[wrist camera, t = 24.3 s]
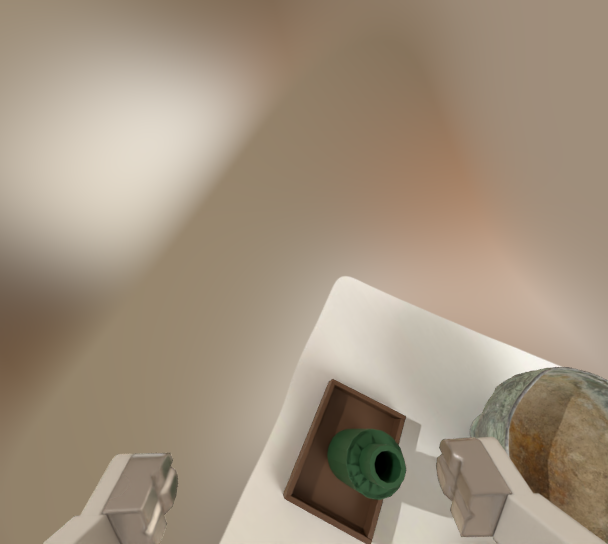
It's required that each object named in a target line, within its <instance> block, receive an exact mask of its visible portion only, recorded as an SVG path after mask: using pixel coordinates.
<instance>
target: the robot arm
mask: <svg viewBox="0 0 608 544" xmlns="http://www.w3.org/2000/svg"><path fill="white" fill-rule="evenodd" d="M439 448H440V450H441V452H442V454H441V455H440V456H439V457H438V458H437V463H436V469H437V476H438V480H439V483H440V486H441V488H442V491H443V493H444V494H445V495H446V496H447V497H448V498H449V499H450V500H451V501H452V505H451V509H450V511H451V513H452V515H453V518H454V520H455V522H456V525H457V527H458V530H459V532H460V534H461V537H485V536H493V539H494V540H495V541H496V542H497V543H498V544H607V543H605V542H604V541H603V540H601V539H600V538H599V537H597V536H596V535H595V534H593V533H592V532H590V531H589V530H588V529H586V528H585V527H584V526H582V525H581V524H580V523H578V522H577V521H576V520H574V519H573V518H572V517H570V516H569V515H567V514H566V513H565V512H563V511H562V510H561V509H559V508H558V507H557V506H555V505H554V504H553V503H551V502H550V501H549V500H547V499H546V498H544V497H543V496H542V495H540V494H539V493H533V492H532V490H531V489H530V488H529V486H528V485H527V483H526V482H525V480H524V479H523V477H522V476H521V474H520V473H519V471H518V470H517V468H516V467H515V465H514V464H513V462H512V461H511V459H510V458H509V456H508V455H507V453H506V452H505V450H504V449H503V447H502V446H501V444H500V443H499V441H498V440H497V439H496V438H494V437H481V438H475V437H471V438H456V439H443V440H442V441H441V442H440V447H439ZM172 461H173V459H172V456H171V453H144V454H143V453H142V454H117V455H116V456H115V457H114V458H113V459H112V460H111V462H110V464H109V466H108V467H107V469H106V471H105V473H104V474H103V476H102V478H101V480H100V481H99V483H98V485H97V487H96V488H95V490H94V492H93V494H92V495H91V497H90V499H89V501H88V502H87V504H86V506H85V508H84V509H83V511H82V513H81V515H79V516H74V517H73V518H72V519H70V520H69V521H68V522H67V523H66V524H65V525H64V526H62V527H61V528H60V529H59V530H58V531H57V532H55V533H54V534H53V535H52V536H51V537H50V538H49V539H47V540H46V541H45V542H44V543H43V544H160V543H161V540H162V537H163V534H164V531H165V528H166V525H167V523H166V519H165V516H164V515H165V514H166V513H167V512H168V511H169V510H170V509H171V508H172V507H173V504H174V500H175V497H176V493H177V487H178V476H177V472H176V470H175V469H174V468H172V467H171V464H172Z"/></svg>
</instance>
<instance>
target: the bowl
mask: <svg viewBox="0 0 608 544" xmlns="http://www.w3.org/2000/svg"><path fill="white" fill-rule="evenodd" d="M470 436H471V437H475V438H481V437H494V438H496V439H497V440H498V441H499V443H500V444H501V446H502V447H503V449H504V450H505V452H506V453H507V455H508V456H509V458H510V459H511V461H512V462H513V464H514V465H515V467H516V468H517V470H518V471H519V473H520V474H521V476H522V477H523V479H524V480H525V482H526V483H527V485H528V486H529V488H530V489H531V490H532V492H533V493H539V494H540V495H542V496H543V497H544V498H546V499H547V500H549V501H550V502H551V503H553V504H554V505H555V506H557V507H558V508H559V509H561V510H562V511H563V512H565V513H566V514H567V515H569V516H570V517H572V518H573V519H574V520H576V521H577V522H578V523H580V524H581V525H582V526H584V527H585V528H586V529H588V530H589V531H590V532H592V533H593V534H595V535H596V536H597V537H599V538H600V539H601V540H603V541H604V542H605V543H607V544H608V380H606V379H604V378H602V377H600V376H598V375H595V374H592V373H590V372H586V371H582V370H578V369H573V368H569V367H554V368H545V369H540V370H536V371H529V372H525V373H521V374H518V375H515V376H513V377H512V378H510V379H508V380H506V381H504V382H503V383H501V384H500V385H499V386H497V387H496V389H495V392H494V393H493V395H492V396H491V398H490V399H489V400H488V402H487V404H486V406H485V408H484V410H483V412H482V414H481V415H479V416H478V417H477V418H476V419H475V420H474V422H473V424H472V427H471V430H470Z"/></svg>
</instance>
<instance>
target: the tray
mask: <svg viewBox="0 0 608 544" xmlns="http://www.w3.org/2000/svg"><path fill="white" fill-rule="evenodd" d="M405 419H406V416H404V415H403V414H401V413H399V412H397V411H395V410H393V409H391V408H389V407H387V406H385V405H383V404H381V403H379V402H377V401H375V400H373V399H371V398H369V397H367V396H365V395H363V394H361V393H359V392H357V391H356V390H354V389H352V388H350V387H348V386H346V385H344V384H342V383H340V382H338V381H336V380H334V379H332V380H331V381H329V383H328V385H327V388H326V390H325V393H324V395H323V398H322V400H321V402H320V405H319V407H318V410H317V412H316V415H315V417H314V420H313V422H312V425H311V427H310V429H309V432H308V434H307V437H306V439H305V442H304V444H303V447H302V449H301V452H300V454H299V456H298V459H297V461H296V464H295V466H294V469H293V471H292V474H291V476H290V479H289V481H288V483H287V486H286V488H285V491H284V493H283V496H284V498H285V499H286V500H287V501H289V502H291V503H293V504H295V505H297V506H298V507H300V508H302V509H304V510H306V511H307V512H309V513H311V514H313V515H315V516H317V517H318V518H320V519H322V520H324V521H326V522H327V523H329V524H331V525H333V526H335V527H336V528H338V529H340V530H342V531H344V532H346V533H347V534H349V535H351V536H353V537H355V538H356V539H358V540H360V541H362V542H364V543H365V544H371V542H372V539H373V535H374V531H375V528H376V524H377V520H378V517H379V513H380V509H381V506H382V502H383V499H382V500H376V499H371V498H367V497H365V496H364V495H362V494H361V493H359V492H358V491H356V490H354V489H353V488H351V487H350V486H348V485H346V484H345V483H343V482H342V481H341V480H339V479H338V478H337V477H336V476H335V475H334V474H333V472H332V471H331V469H330V466H329V463H328V456H327V454H328V447H329V444H330V442H331V440H332V438H333V437H334V436H335V435H336V434H337V433H338V432H340V431H342V430H345V429H376V430H382V431H384V432H385V433H387V434H388V435H390V436H391V437H392V438H393V439H394V440H395V441H396V443H397V444H399V440H400V437H401V433H402V429H403V426H404V422H405V421H404V420H405Z"/></svg>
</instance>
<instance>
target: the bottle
mask: <svg viewBox="0 0 608 544" xmlns="http://www.w3.org/2000/svg"><path fill="white" fill-rule="evenodd" d="M327 456H328V463H329V466H330V469H331V471H332V472H333V474H334V475H335V476H336V477H337V478H338V479H339V480H341V481H342V482H343V483H345V484H346V485H348V486H350V487H351V488H353V489H354V490H356V491H358V492H359V493H361V494H362V495H364V496H365V497H367V498H371V499H376V500H382V499H384V498H387V497H390V496H392V495H393V494H394V493H395V492H396V491H397V490H398V489H399V487H400V485H401V483H402V482H403V480H404V477H405V473H406V466H405V461H404V458H403V455H402V452H401V449H400V447H399V446H398V444H397V443H396V441H395V440H394V439H393V438H392V437H391V436H390V435H388V434H387V433H385V432H384V431H382V430H376V429H345V430H342V431H340V432H338V433H337V434H336V435H335V436H334V437H333V438H332V440H331V442H330V444H329V447H328V454H327Z"/></svg>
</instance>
